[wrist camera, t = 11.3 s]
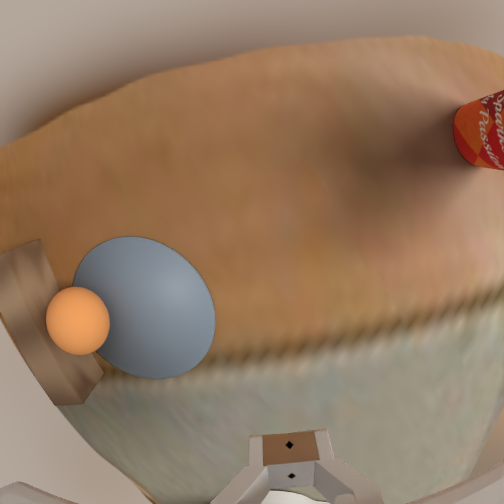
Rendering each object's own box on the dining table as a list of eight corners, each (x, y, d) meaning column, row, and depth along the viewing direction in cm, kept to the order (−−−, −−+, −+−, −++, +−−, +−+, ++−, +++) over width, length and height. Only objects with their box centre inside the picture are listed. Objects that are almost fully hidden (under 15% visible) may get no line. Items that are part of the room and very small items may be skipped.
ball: (127, 336, 24) (101, 367, 19) (79, 339, 24) (48, 366, 19) (110, 275, 23) (76, 294, 18) (61, 283, 24) (24, 301, 18)
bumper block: (104, 372, 26) (83, 403, 21) (77, 377, 26) (54, 405, 21) (40, 238, 23) (4, 252, 18) (16, 252, 23) (-18, 267, 18)
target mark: (225, 377, 25) (225, 378, 25) (96, 374, 26) (95, 375, 25) (203, 228, 22) (203, 228, 22) (59, 244, 23) (58, 245, 22)
